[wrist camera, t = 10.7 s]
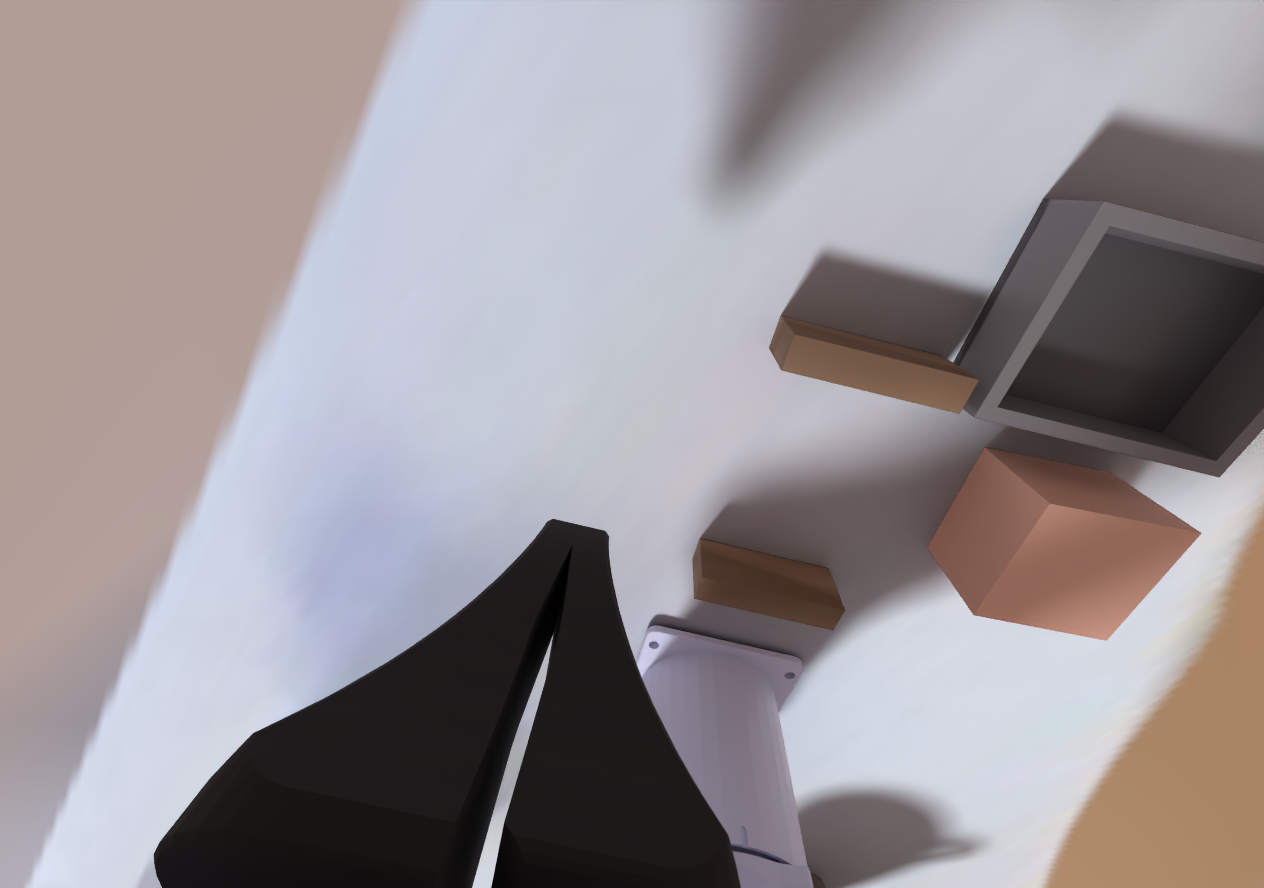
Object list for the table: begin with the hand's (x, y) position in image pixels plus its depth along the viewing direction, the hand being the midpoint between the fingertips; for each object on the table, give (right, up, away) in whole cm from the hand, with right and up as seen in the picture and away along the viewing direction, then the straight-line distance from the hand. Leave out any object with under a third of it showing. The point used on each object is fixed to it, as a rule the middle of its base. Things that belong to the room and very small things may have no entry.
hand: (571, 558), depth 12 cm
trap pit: (+18, +6, +6) cm, 19 cm away
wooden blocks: (+8, +2, +9) cm, 12 cm away
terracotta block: (+17, 0, +9) cm, 19 cm away
